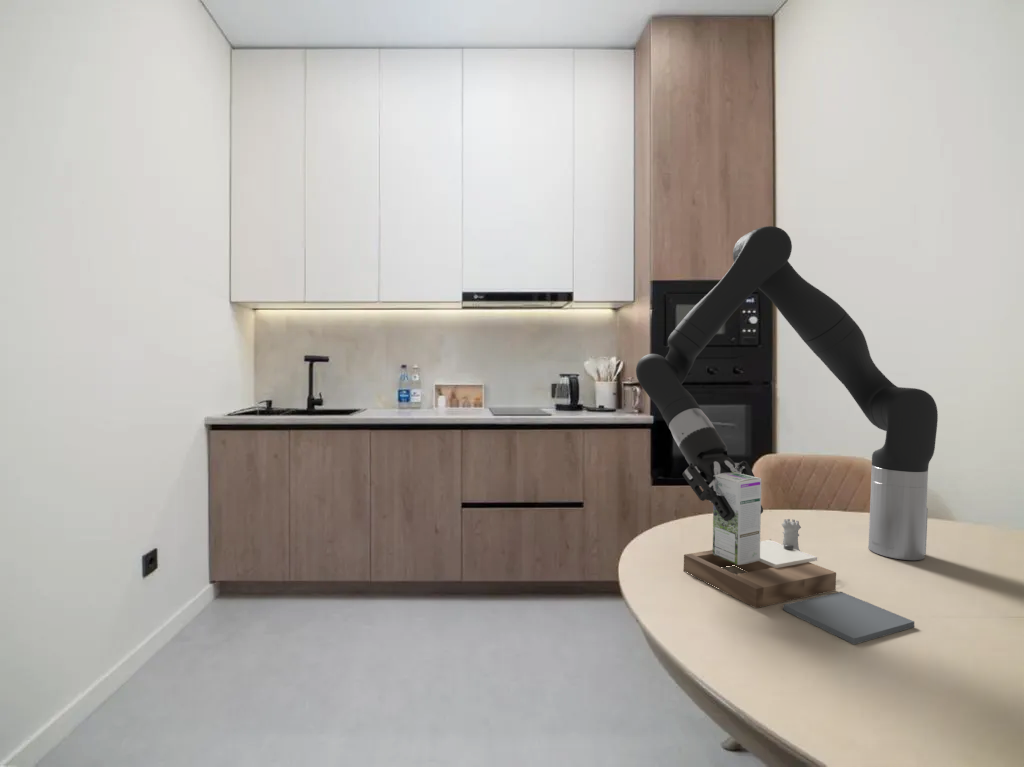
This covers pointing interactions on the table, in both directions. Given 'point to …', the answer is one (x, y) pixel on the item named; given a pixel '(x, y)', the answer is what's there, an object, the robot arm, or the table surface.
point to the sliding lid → (782, 554)
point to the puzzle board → (761, 579)
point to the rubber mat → (848, 617)
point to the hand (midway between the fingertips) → (744, 516)
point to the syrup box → (738, 519)
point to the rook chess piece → (791, 533)
